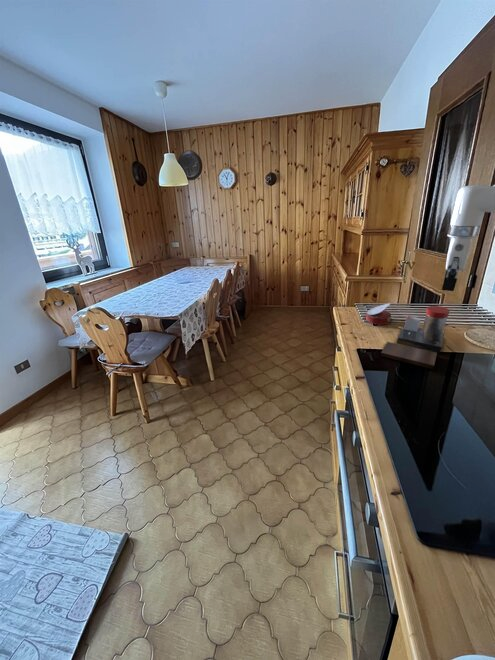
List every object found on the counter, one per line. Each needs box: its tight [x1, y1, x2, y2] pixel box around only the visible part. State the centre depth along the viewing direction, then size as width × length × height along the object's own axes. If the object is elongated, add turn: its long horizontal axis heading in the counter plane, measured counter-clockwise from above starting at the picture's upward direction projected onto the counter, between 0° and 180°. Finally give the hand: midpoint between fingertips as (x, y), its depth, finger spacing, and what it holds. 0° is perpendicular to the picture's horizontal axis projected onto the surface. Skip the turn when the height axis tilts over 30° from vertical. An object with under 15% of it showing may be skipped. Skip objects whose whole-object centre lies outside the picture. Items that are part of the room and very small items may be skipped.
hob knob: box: [404, 315, 421, 332], centre depth 110 cm, size 5×2×5 cm, turn 55°
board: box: [380, 341, 438, 370], centre depth 99 cm, size 16×9×2 cm, turn 54°
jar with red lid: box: [420, 305, 450, 344], centre depth 101 cm, size 7×7×12 cm
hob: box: [396, 324, 445, 354], centre depth 108 cm, size 15×13×3 cm
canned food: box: [365, 302, 392, 325], centre depth 124 cm, size 11×10×10 cm
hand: (448, 285), depth 93 cm, fingers open, 9 cm apart
